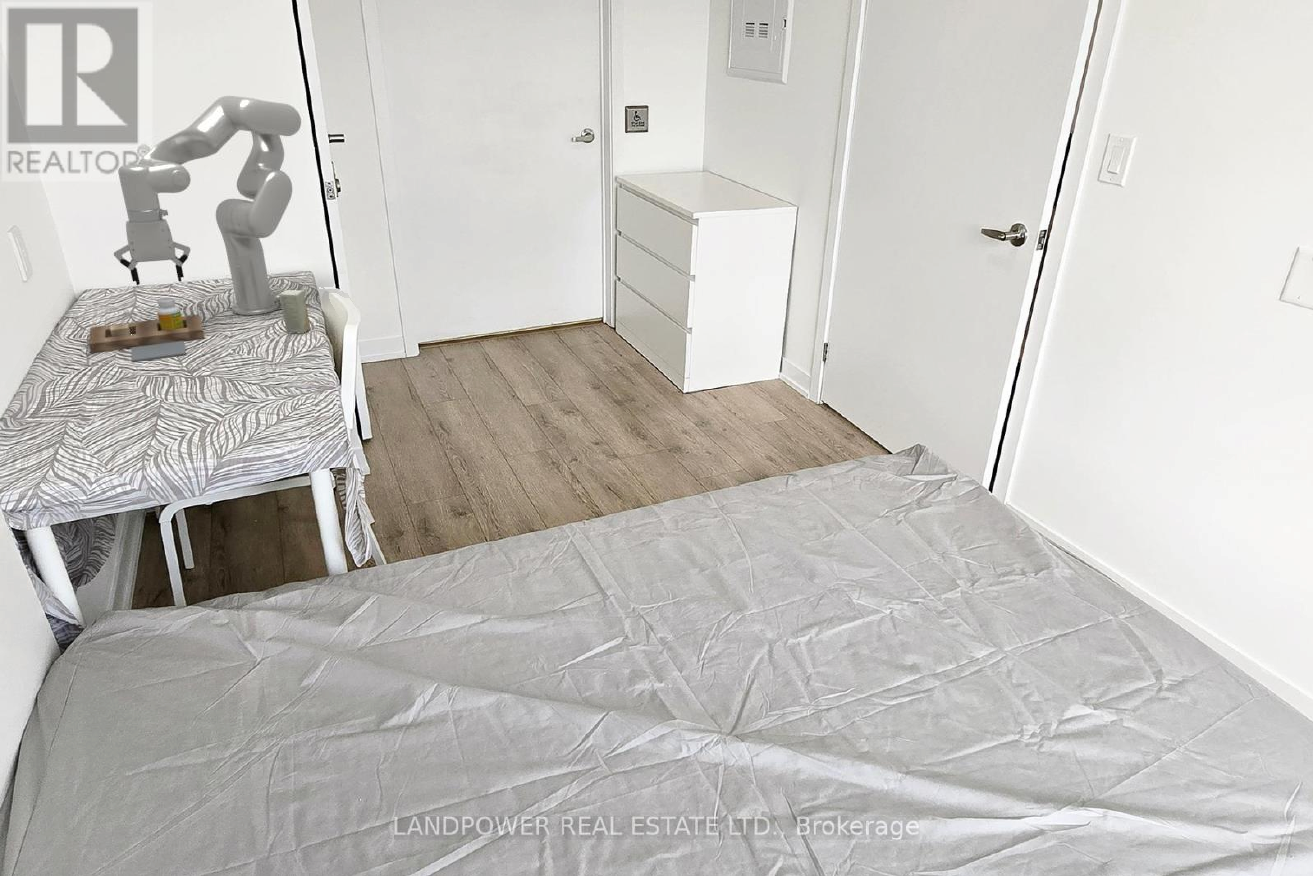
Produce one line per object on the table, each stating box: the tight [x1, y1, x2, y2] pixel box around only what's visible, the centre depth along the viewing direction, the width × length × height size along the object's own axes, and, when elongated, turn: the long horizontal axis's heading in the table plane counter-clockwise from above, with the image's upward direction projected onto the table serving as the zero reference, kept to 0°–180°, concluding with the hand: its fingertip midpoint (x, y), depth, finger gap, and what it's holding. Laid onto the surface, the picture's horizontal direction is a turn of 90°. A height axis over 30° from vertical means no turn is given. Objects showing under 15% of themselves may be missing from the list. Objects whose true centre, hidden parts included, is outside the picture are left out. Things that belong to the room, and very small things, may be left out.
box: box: [279, 289, 311, 334], centre depth 233 cm, size 5×4×11 cm
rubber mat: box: [131, 341, 187, 363], centre depth 218 cm, size 12×10×1 cm
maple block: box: [110, 323, 131, 337], centre depth 224 cm, size 4×4×4 cm
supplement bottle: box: [156, 297, 184, 331], centre depth 228 cm, size 5×5×10 cm
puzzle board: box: [88, 314, 206, 354], centre depth 227 cm, size 26×14×2 cm, turn 119°
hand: (159, 281), depth 223 cm, fingers open, 9 cm apart
